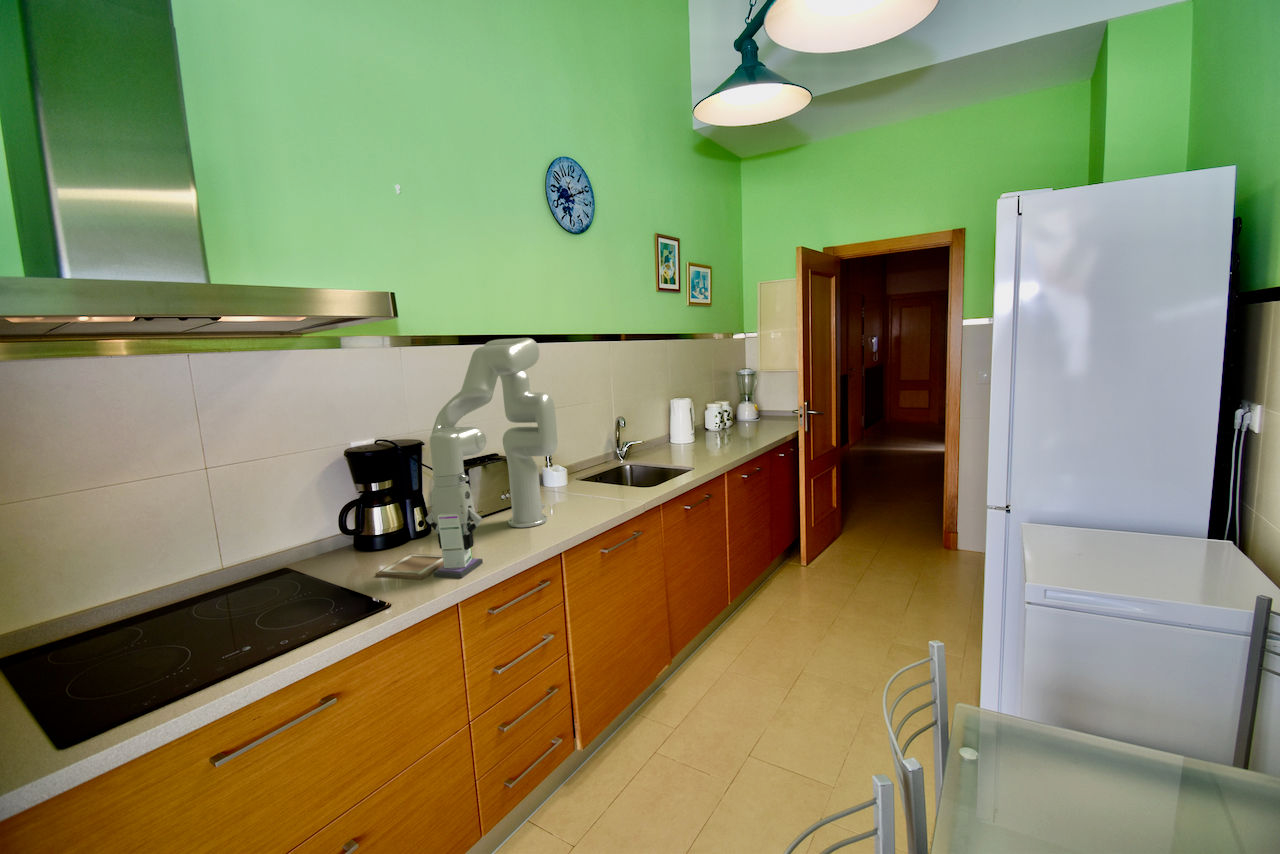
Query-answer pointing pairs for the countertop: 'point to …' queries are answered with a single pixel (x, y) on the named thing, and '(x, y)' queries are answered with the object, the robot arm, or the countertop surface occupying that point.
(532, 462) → the robot arm
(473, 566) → the ink pad
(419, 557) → the board
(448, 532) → the syrup box
